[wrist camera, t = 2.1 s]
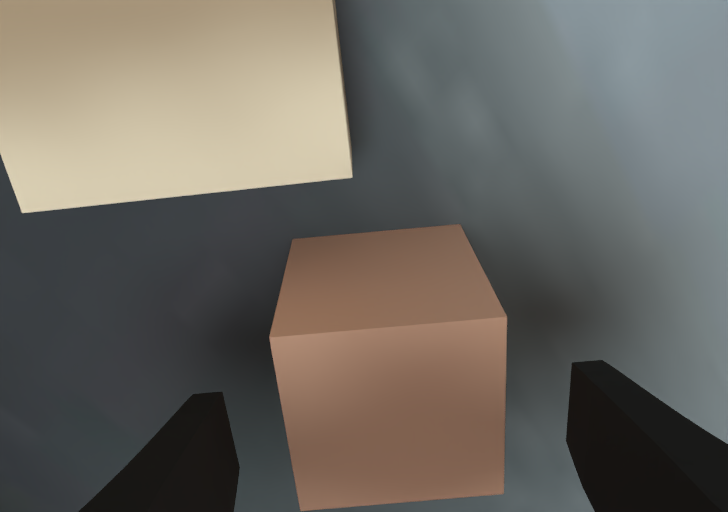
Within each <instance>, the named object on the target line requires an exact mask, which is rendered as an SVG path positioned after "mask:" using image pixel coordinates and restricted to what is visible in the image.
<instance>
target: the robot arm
mask: <svg viewBox="0 0 728 512" xmlns="http://www.w3.org/2000/svg"><path fill="white" fill-rule="evenodd" d="M566 442H567V445H568V448H569V451H570V454H571V457H572V459H573V462H574V465H575V468H576V471H577V473H578V476H579V479H580V481H581V484H582V486H583V489H584V491H585V493H586V495H587V497H588V499H589V501H590V503H591V505H592V507H593V509H594V511H595V512H728V444H726V443H725V442H723V441H722V440H720V439H718V438H717V437H715V436H713V435H712V434H710V433H709V432H707V431H705V430H704V429H702V428H701V427H699V426H698V425H696V424H695V423H693V422H692V421H690V420H688V419H687V418H685V417H684V416H682V415H681V414H679V413H678V412H677V411H675V410H674V409H672V408H671V407H669V406H668V405H666V404H665V403H663V402H662V401H660V400H659V399H658V398H656V397H655V396H653V395H652V394H650V393H649V392H648V391H646V390H645V389H643V388H642V387H640V386H639V385H638V384H636V383H635V382H633V381H632V380H631V379H629V378H628V377H626V376H625V375H623V374H622V373H621V372H619V371H618V370H616V369H615V368H613V367H612V366H610V365H609V364H607V363H606V362H604V361H603V360H597V361H585V362H573V363H572V370H571V383H570V396H569V409H568V422H567V435H566ZM239 468H240V467H239V463H238V458H237V454H236V450H235V445H234V441H233V436H232V432H231V428H230V423H229V419H228V415H227V410H226V406H225V402H224V397H223V393H222V392H213V393H201V394H193V395H192V396H191V397H190V398H189V399H188V400H187V401H186V402H185V403H184V404H183V405H182V406H181V408H180V409H179V410H178V411H177V412H176V413H175V414H174V415H173V416H172V417H171V418H170V420H169V421H168V422H167V423H166V424H165V425H164V426H163V427H162V428H161V429H160V431H159V432H158V433H157V434H156V435H155V436H154V437H153V438H152V439H151V440H150V441H149V442H148V444H147V445H146V446H145V447H144V448H143V449H142V450H141V451H140V452H139V453H138V454H137V455H136V456H135V457H134V458H133V459H132V460H131V461H130V463H129V464H128V465H127V466H126V467H125V468H124V469H123V470H121V471H120V472H119V473H118V474H117V475H116V476H115V477H114V478H113V479H112V480H111V481H110V482H109V483H108V484H107V485H106V486H105V487H104V488H103V489H102V490H101V491H100V492H99V493H98V494H97V495H96V496H95V497H94V498H93V499H92V500H91V501H90V502H89V503H87V504H86V505H85V506H84V507H83V508H82V509H81V510H80V511H79V512H234V505H235V498H236V492H237V484H238V476H239Z"/></svg>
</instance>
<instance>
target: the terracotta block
mask: <svg viewBox="0 0 728 512" xmlns="http://www.w3.org/2000/svg"><path fill="white" fill-rule="evenodd" d="M269 339H270V345H271V350H272V356H273V362H274V367H275V373H276V378H277V384H278V389H279V395H280V400H281V406H282V412H283V417H284V423H285V428H286V434H287V439H288V445H289V450H290V456H291V462H292V467H293V473H294V478H295V484H296V489H297V495H298V500H299V506H300V511H307V510H319V509H331V508H343V507H355V506H367V505H378V504H390V503H402V502H414V501H426V500H438V499H450V498H462V497H474V496H485V495H497V494H504V452H505V399H506V346H507V316H506V314H505V312H504V310H503V308H502V306H501V304H500V302H499V300H498V298H497V296H496V294H495V292H494V290H493V288H492V286H491V284H490V282H489V280H488V278H487V276H486V274H485V273H484V271H483V269H482V267H481V265H480V263H479V261H478V259H477V257H476V255H475V253H474V251H473V249H472V247H471V245H470V243H469V241H468V239H467V237H466V235H465V233H464V231H463V229H462V227H461V225H460V224H455V225H444V226H433V227H421V228H410V229H399V230H388V231H377V232H366V233H355V234H344V235H332V236H321V237H310V238H299V239H292V243H291V248H290V252H289V256H288V260H287V265H286V269H285V273H284V277H283V281H282V286H281V290H280V294H279V298H278V303H277V307H276V311H275V315H274V319H273V324H272V328H271V332H270V336H269Z"/></svg>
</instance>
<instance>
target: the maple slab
mask: <svg viewBox="0 0 728 512" xmlns="http://www.w3.org/2000/svg"><path fill="white" fill-rule="evenodd" d="M0 154H1V157H2V159H3V162H4V165H5V168H6V170H7V173H8V176H9V178H10V181H11V184H12V186H13V189H14V192H15V195H16V197H17V200H18V203H19V205H20V208H21V211H22V213H29V212H38V211H47V210H56V209H66V208H75V207H84V206H94V205H103V204H112V203H122V202H131V201H140V200H149V199H159V198H168V197H177V196H187V195H196V194H205V193H215V192H224V191H233V190H242V189H252V188H261V187H270V186H280V185H289V184H298V183H308V182H317V181H326V180H335V179H345V178H353V177H352V147H351V139H350V130H349V121H348V112H347V103H346V94H345V85H344V76H343V68H342V59H341V50H340V41H339V32H338V23H337V14H336V6H335V0H0Z"/></svg>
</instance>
